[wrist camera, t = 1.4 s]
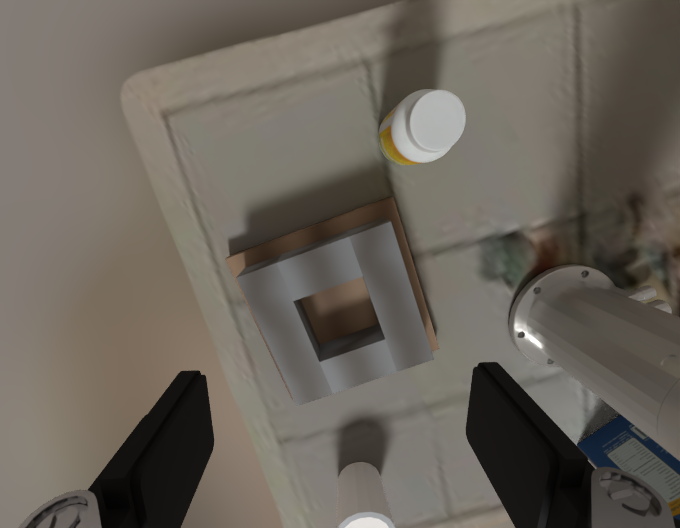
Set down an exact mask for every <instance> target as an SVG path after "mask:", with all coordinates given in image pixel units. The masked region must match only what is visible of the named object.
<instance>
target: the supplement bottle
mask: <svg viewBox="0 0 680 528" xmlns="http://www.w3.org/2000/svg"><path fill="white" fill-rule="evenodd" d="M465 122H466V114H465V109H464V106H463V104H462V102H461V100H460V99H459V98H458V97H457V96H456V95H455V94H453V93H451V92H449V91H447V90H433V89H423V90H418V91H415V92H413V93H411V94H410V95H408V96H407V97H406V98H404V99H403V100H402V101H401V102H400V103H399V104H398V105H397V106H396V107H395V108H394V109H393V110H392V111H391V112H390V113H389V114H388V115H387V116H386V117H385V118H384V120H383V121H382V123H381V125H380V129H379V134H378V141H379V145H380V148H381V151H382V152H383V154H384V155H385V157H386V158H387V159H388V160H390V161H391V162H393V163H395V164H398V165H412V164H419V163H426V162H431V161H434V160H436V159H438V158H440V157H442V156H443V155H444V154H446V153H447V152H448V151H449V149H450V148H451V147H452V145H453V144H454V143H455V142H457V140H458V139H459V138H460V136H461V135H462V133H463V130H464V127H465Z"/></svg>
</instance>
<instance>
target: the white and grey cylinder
mask: <svg viewBox="0 0 680 528" xmlns="http://www.w3.org/2000/svg"><path fill="white" fill-rule="evenodd" d="M336 528H395V525H394V521H393V518H392V515H391V511H390V508H389V504H388V501H387V498H386V494H385V491H384V488H383V484H382V481H381V477H380V474H379V472H378V470H377V469H376V467H374V466H373V465H371V464H369V463H365V462H356V463H352V464H350V465H347V466H346V467H345V468H344V469H343V470H342V471H341V472H340V475H339V477H338V495H337V517H336Z"/></svg>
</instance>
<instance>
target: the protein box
mask: <svg viewBox="0 0 680 528" xmlns="http://www.w3.org/2000/svg"><path fill="white" fill-rule="evenodd" d="M577 447H578V448H579V449H580V450H581V451H582V452H583V453H584V454H585V455H586V456H587V458H588V460H589V461H590V462H591V464H592V465H593V466H594V467H595V468H596V469H597V468H599V467H611V468H617V469H620V470H623V471H626V472H628V473H630V474H632V475H634V476H636V477H638V478H640V479H641V480H643V481H644V482H646V483H647V484H649V485H650V486H651V487H652V488H654V489H655V490H656V491H657V492H658V493H659V494H660V495H661V496H662V497H663V498H664V500H665V501H666V502H667V503H668V506H669V508H670V510H671V512H672V516H673V517H674V518H676V519H678V520H680V461H679V460H678V459H676V458H675V457H674V456H673V455H671V454H670V453H669V452H668V451H666V450H665V449H664V448H663V447H661V446H660V445H659V444H658V443H656V442H655V441H654V440H652V439H651V438H650V437H649V436H647V435H646V434H645V433H644V432H642V431H641V430H640V429H639V428H637V427H636V426H635V425H633V424H632V423H631V422H630V421H628V420H627V419H626V418H625V417H623V416H622V415H620V416H618V417H617V418H615V419H614V420H612V421H611V422H609V423H608V424H606V425H605V426H603V427H602V428H601V429H599V430H598V431H596V432H595V433H593V434H592V435H590V436H589V437H587V438H586V439H584V440H583V441H581V442H580V443H578V444H577Z"/></svg>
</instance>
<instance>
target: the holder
mask: <svg viewBox="0 0 680 528" xmlns="http://www.w3.org/2000/svg"><path fill="white" fill-rule="evenodd" d="M225 260H226V262H227V264H228V266H229V268H230V270H231V272H232V274H233V276H234V279H235V281H236V283H237V285H238V287H239V289H240V291H241V293H242V295H243V297H244V299H245V302H246V304H247V306H248V308H249V310H250V312H251V314H252V316H253V318H254V320H255V323H256V325H257V327H258V329H259V331H260V333H261V335H262V337H263V339H264V341H265V343H266V346H267V348H268V350H269V352H270V354H271V356H272V358H273V360H274V362H275V364H276V367H277V369H278V371H279V373H280V375H281V377H282V379H283V381H284V383H285V385H286V388H287V390H288V392H289V394H290V396H291V398H292V399H294V401H295V403H296V405H297V406H299V405H302V404H305V403H308V402H311V401H314V400H317V399H320V398H322V397H325V396H328V395H331V394H334V393H337V392H340V391H343V390H346V389H349V388H352V387H355V386H357V385H360V384H363V383H366V382H369V381H372V380H375V379H378V378H381V377H384V376H387V375H390V374H392V373H395V372H398V371H401V370H404V369H407V368H410V367H413V366H416V365H419V364H422V363H425V362H428V361H430V360H433V359H434V358H433V354H432V351H434V350H437V349H439V346H438V343H437V339H436V336H435V333H434V329H433V326H432V323H431V319H430V316H429V313H428V310H427V306H426V303H425V300H424V296H423V293H422V290H421V287H420V283H419V280H418V277H417V273H416V270H415V267H414V264H413V260H412V257H411V254H410V250H409V247H408V244H407V241H406V237H405V234H404V231H403V227H402V224H401V221H400V218H399V214H398V211H397V208H396V204H395V201H394V198H393V197H388V198H385V199H382V200H380V201H377V202H374V203H372V204H369V205H366V206H363V207H361V208H358V209H355V210H352V211H350V212H347V213H344V214H342V215H339V216H336V217H333V218H331V219H328V220H325V221H322V222H320V223H317V224H314V225H312V226H309V227H306V228H303V229H301V230H298V231H295V232H293V233H290V234H287V235H284V236H282V237H279V238H276V239H273V240H271V241H268V242H265V243H263V244H260V245H257V246H254V247H252V248H249V249H246V250H243V251H241V252H238V253H235V254H233V255H230V256H228V257H227V258H226V259H225Z"/></svg>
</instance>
